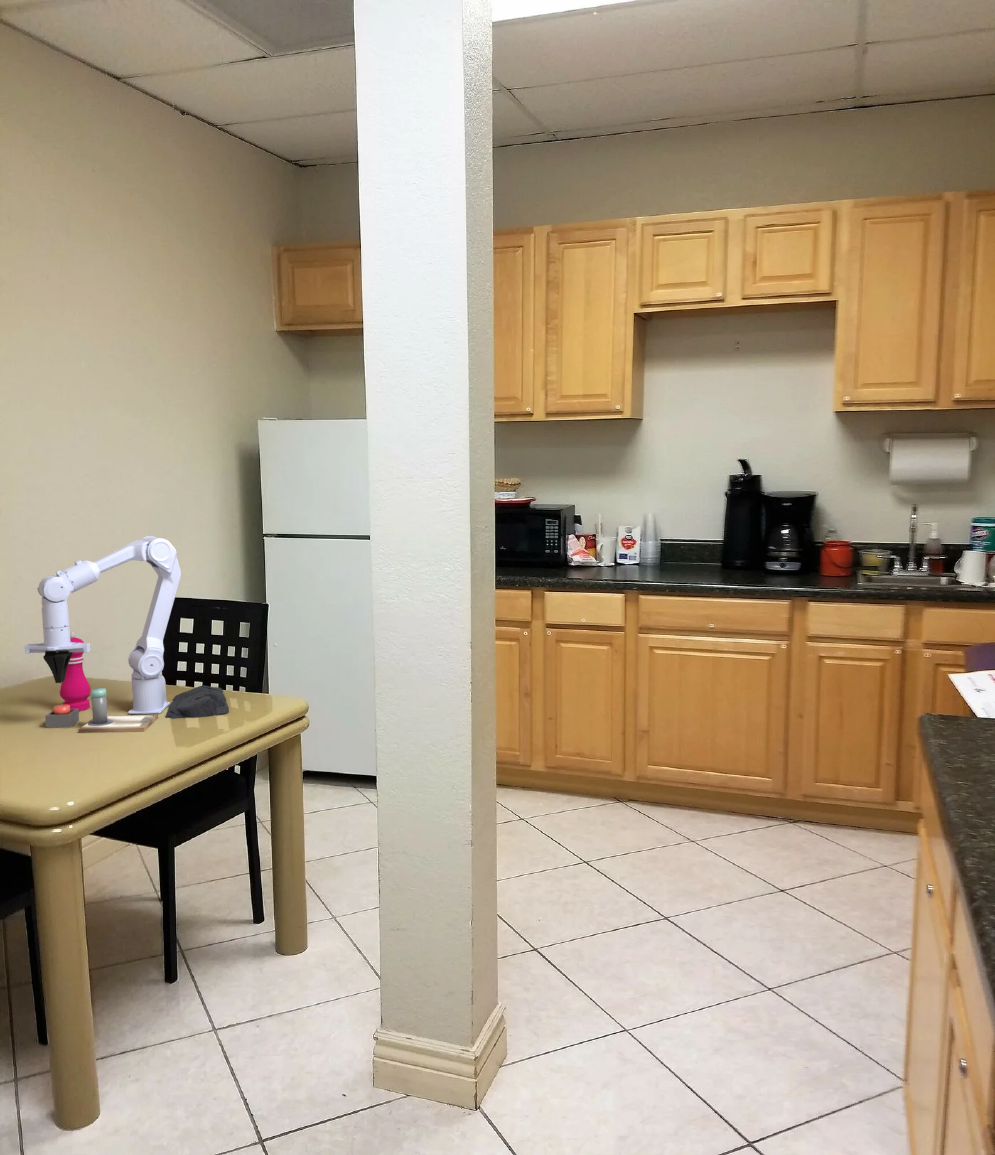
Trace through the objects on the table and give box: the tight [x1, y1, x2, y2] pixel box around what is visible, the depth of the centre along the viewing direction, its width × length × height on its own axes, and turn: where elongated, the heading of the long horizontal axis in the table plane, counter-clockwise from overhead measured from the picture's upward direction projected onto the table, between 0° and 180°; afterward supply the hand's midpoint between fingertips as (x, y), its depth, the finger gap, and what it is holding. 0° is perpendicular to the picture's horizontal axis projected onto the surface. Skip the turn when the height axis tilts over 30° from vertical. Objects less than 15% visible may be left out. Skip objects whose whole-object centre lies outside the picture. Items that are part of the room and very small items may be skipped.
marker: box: [90, 687, 108, 724], centre depth 222 cm, size 3×3×8 cm
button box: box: [45, 709, 80, 729], centre depth 225 cm, size 6×6×3 cm
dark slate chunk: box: [165, 685, 230, 720], centre depth 241 cm, size 15×22×5 cm
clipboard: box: [78, 714, 159, 734], centre depth 224 cm, size 11×15×2 cm
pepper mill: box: [59, 631, 92, 712], centre depth 238 cm, size 7×7×20 cm
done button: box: [52, 703, 70, 715], centre depth 225 cm, size 4×4×2 cm
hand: (60, 682), depth 224 cm, fingers closed
